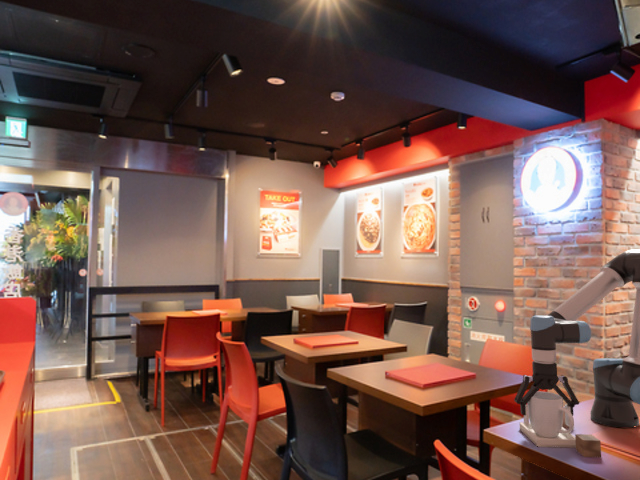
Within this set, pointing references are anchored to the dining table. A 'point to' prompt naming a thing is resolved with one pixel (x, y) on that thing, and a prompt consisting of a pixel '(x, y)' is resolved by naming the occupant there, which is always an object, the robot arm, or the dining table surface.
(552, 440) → the tray
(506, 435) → the dining table surface
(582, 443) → the walnut block
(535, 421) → the mug
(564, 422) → the brown short cylinder
